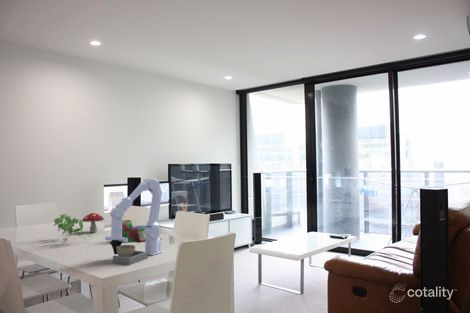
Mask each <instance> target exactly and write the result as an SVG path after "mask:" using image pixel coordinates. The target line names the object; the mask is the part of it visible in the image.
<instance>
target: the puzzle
mask: <svg viewBox="0 0 470 313" xmlns="http://www.w3.org/2000/svg"><path fill="white" fill-rule="evenodd" d="M145 227H146V225H135V226H133V222H132V220H130V219H125V220H123V219H122V237H124V238H128V242H127V243H131V242H139V243H145V239H146V238H145V237H146V235H145V234H144V229H145ZM158 237H159V238H160V239H161V240H162V237H160V235H159V236H158ZM123 243H124V244H125V243H126V242H122V244H123Z"/></svg>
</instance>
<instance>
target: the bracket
mask: <svg viewBox="0 0 470 313" xmlns="http://www.w3.org/2000/svg"><path fill="white" fill-rule="evenodd" d="M147 259H148V255H147V252H145V251H141V250H135V251H134V254H133V256H132V257H122V256H118V255H113V256H112V263H113V264H114V263H115V264H120V265H122V264H123V265H129V266H130V265H133V264H135V263H136V264H137V263H139V262H141V261H144V260H147Z"/></svg>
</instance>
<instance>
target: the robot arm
mask: <svg viewBox="0 0 470 313" xmlns="http://www.w3.org/2000/svg"><path fill="white" fill-rule="evenodd" d="M146 191H149V192H150V194H151V195H152V197H151V203H150V207H149V208H150V210H149V216H148V221H147V223H146V224H145V226H146V227H145V229H144V234H145V235H146V237H145V238H146V239H145V242H144V243H145V246H144V248H145V250H144V252H147V256H148V255H149V256H154V255H158V254H160V253H163V250H162V238H161V237H160V235H161V232H160V224H159V216H160V209H161V201H162V196H163V192H162V189H161V185H160V182H159V181H158V179H156V178H150V177H148V178H144V179H143V181H140V183H139V185H137V187H136V188H135V189H134V190H133V191H132V192H131V194H130V195H129V196H126V197H123V198H121V201H119V203H118V204H116V205H115V207H113V208H112V209H111V210H110V212H109V215H110V217H111V221H110V222H111V224H110V225H111V228H110V229H111V230H110V233H111V234H110V235H105V237H104V240H105V241H110V243H109V244H110V245H111V247H112V250H113V254H114V255H118V253H117V248H116V247H117V246H120V245H123V242H125V243H129V242H128V238H124V237H122V221H123V217H124V216H125V213H126V212H127V211H128V210H129V209H130V208H131V207H132V206H133V204H134V203H133V202H134V201H135V200H136V199H137V198H138V197H139V196H140V195H141V194H142V193H143V192H146ZM158 236H159V237H160V238H161V239H160V238H159V237H158Z"/></svg>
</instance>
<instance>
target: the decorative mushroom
mask: <svg viewBox="0 0 470 313" xmlns="http://www.w3.org/2000/svg"><path fill="white" fill-rule="evenodd" d="M81 221H82V223H90V227H89V233H96V232H97V231H98V230H97V229H98V227H97V224H96V222H102V221H105V219H104V217H103V216H102V215H100V214H98V213H95V212H90V213H89V214H87V215H85V216H84V217H83V218H82V219H81Z"/></svg>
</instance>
